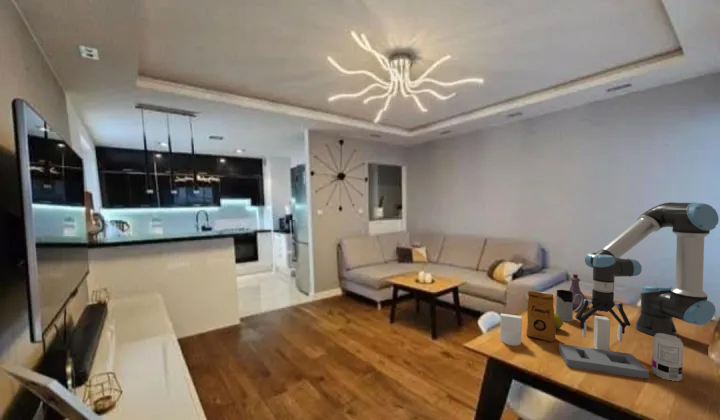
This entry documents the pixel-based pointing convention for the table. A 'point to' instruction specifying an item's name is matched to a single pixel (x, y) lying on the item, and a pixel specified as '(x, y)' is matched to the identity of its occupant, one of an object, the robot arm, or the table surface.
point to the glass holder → (565, 304)
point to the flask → (576, 291)
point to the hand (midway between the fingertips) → (601, 338)
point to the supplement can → (667, 357)
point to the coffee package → (541, 316)
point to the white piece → (510, 329)
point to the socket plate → (602, 361)
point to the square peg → (601, 333)
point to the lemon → (558, 321)
